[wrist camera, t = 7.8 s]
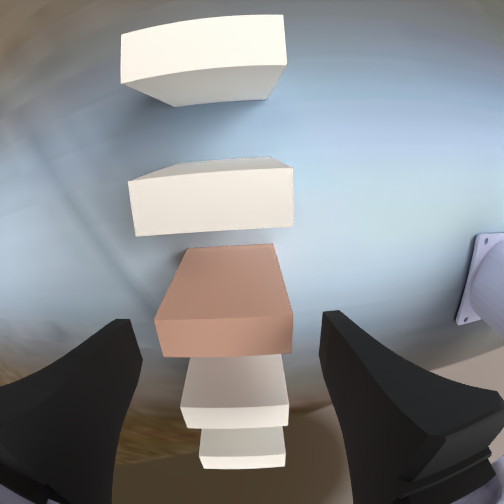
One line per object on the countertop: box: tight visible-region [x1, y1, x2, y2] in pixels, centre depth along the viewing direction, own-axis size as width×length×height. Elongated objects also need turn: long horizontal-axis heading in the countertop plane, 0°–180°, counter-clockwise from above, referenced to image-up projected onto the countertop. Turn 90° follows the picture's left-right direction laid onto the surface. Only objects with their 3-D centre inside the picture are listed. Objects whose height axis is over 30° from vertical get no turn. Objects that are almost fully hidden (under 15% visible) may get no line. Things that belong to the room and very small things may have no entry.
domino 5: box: [199, 426, 286, 469], centre depth 18 cm, size 2×5×8 cm, turn 93°
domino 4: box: [180, 354, 289, 429], centre depth 16 cm, size 2×5×8 cm, turn 93°
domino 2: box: [128, 157, 294, 237], centre depth 12 cm, size 2×5×8 cm, turn 93°
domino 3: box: [154, 244, 293, 357], centre depth 14 cm, size 2×5×8 cm, turn 93°
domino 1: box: [121, 15, 287, 107], centre depth 10 cm, size 2×5×8 cm, turn 93°
